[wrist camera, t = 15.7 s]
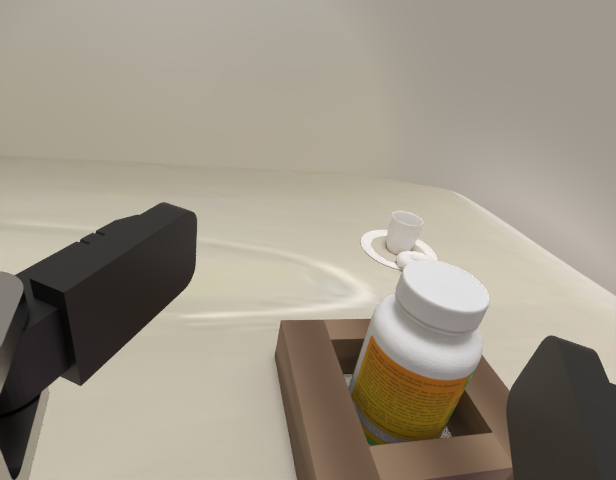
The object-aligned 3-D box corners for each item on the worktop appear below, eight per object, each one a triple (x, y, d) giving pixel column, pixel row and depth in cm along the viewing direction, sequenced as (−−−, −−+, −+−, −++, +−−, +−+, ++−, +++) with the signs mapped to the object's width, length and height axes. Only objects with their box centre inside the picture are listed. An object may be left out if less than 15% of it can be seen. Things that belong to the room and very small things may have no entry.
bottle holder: (307, 532, 17) (319, 493, 16) (274, 356, 25) (281, 320, 24) (534, 495, 20) (562, 460, 19) (439, 349, 29) (453, 317, 27)
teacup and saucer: (438, 289, 36) (453, 252, 34) (353, 266, 37) (363, 228, 35) (434, 245, 44) (446, 212, 42) (363, 227, 45) (372, 194, 43)
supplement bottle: (444, 475, 20) (527, 334, 16) (342, 454, 20) (393, 308, 16) (427, 390, 25) (487, 262, 20) (344, 373, 25) (383, 242, 20)
